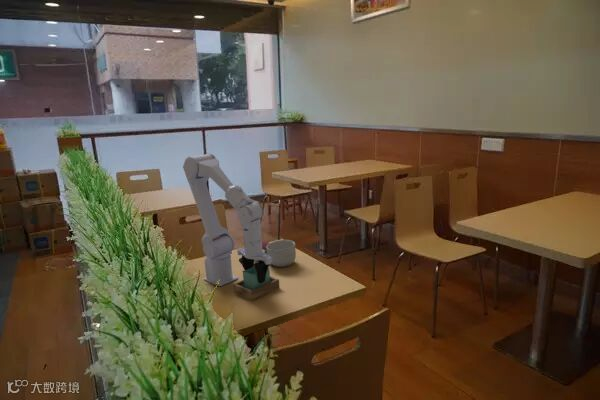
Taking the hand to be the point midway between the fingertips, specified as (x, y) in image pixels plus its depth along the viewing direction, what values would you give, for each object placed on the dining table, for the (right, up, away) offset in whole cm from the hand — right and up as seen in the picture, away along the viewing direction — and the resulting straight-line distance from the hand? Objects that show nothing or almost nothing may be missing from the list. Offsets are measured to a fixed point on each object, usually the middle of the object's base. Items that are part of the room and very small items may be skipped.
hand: (256, 279), depth 132 cm
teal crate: (0, -2, +1) cm, 2 cm away
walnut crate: (0, -4, +1) cm, 4 cm away
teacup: (+8, +2, +23) cm, 24 cm away
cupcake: (-1, +3, +28) cm, 29 cm away
